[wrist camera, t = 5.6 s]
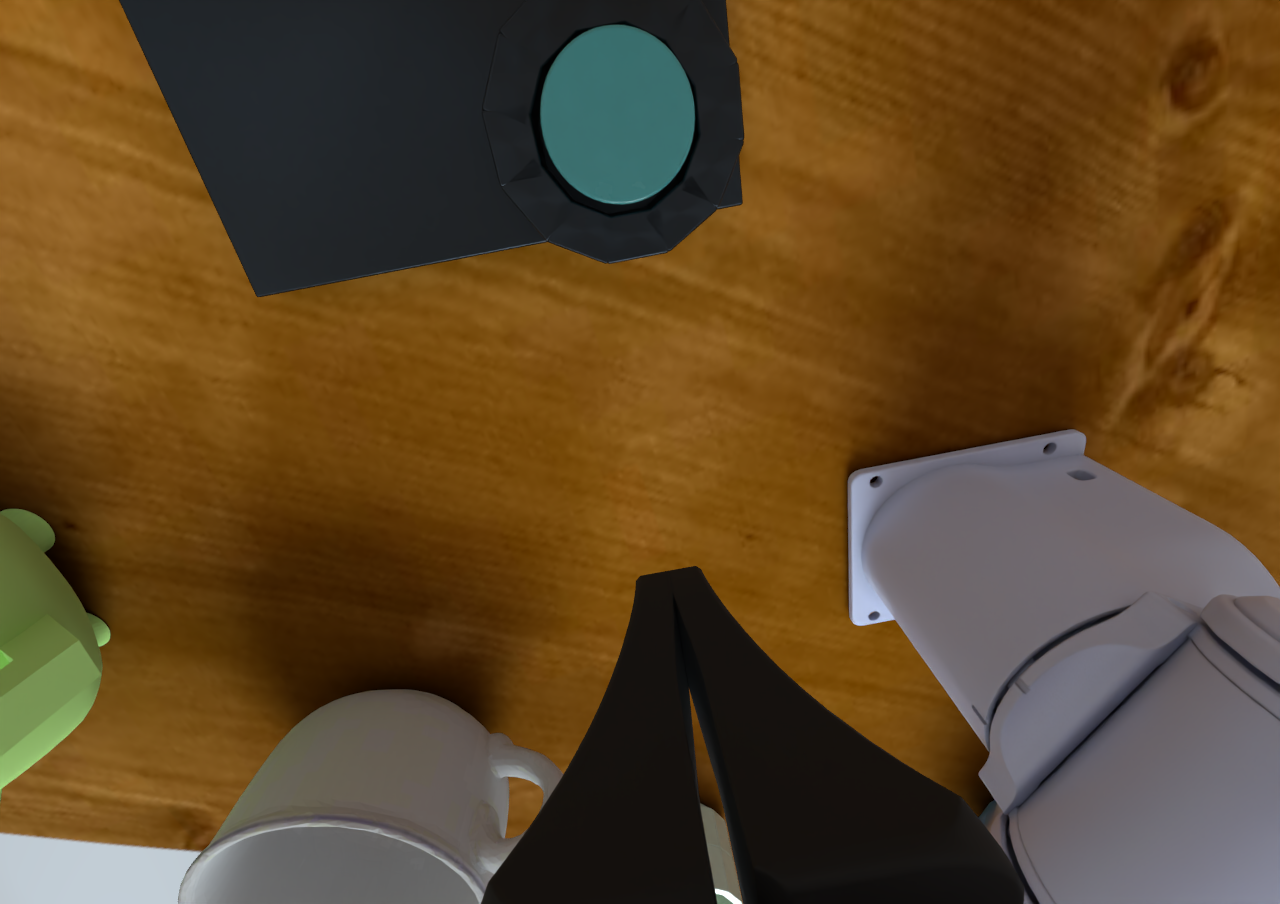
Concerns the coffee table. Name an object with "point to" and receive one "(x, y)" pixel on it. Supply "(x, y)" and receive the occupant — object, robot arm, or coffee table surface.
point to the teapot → (40, 647)
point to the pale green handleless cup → (720, 857)
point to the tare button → (617, 114)
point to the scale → (418, 128)
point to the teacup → (371, 809)
